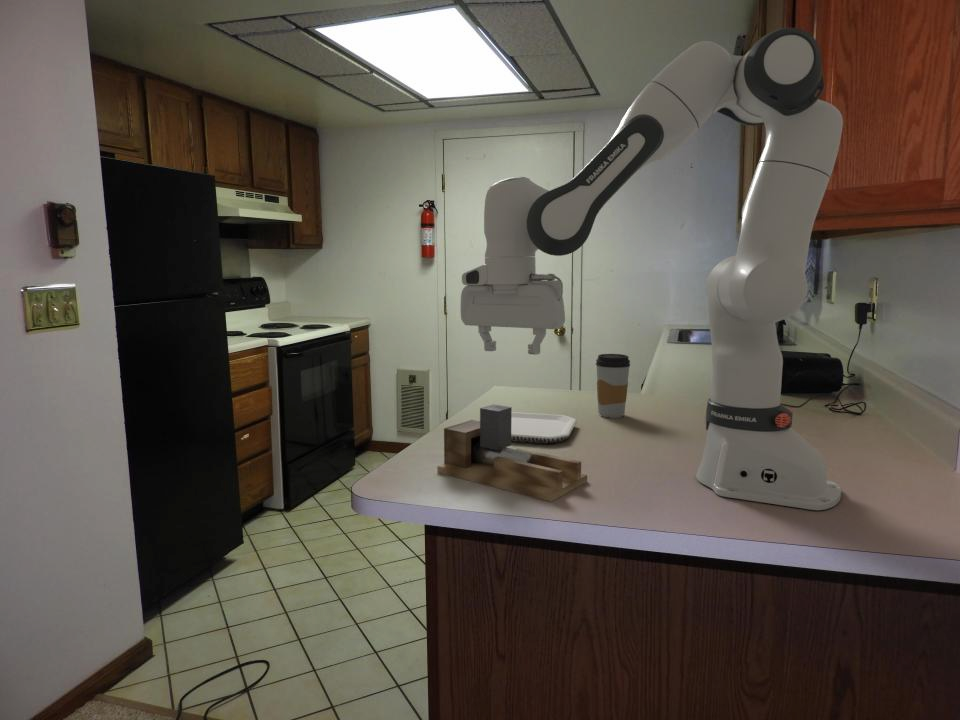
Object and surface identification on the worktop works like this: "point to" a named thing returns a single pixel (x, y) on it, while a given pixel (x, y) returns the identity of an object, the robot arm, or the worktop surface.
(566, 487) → the cradle
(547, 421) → the plate
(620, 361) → the coffee cup
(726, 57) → the robot arm
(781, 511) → the worktop surface
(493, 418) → the grey mallet
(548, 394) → the worktop surface
